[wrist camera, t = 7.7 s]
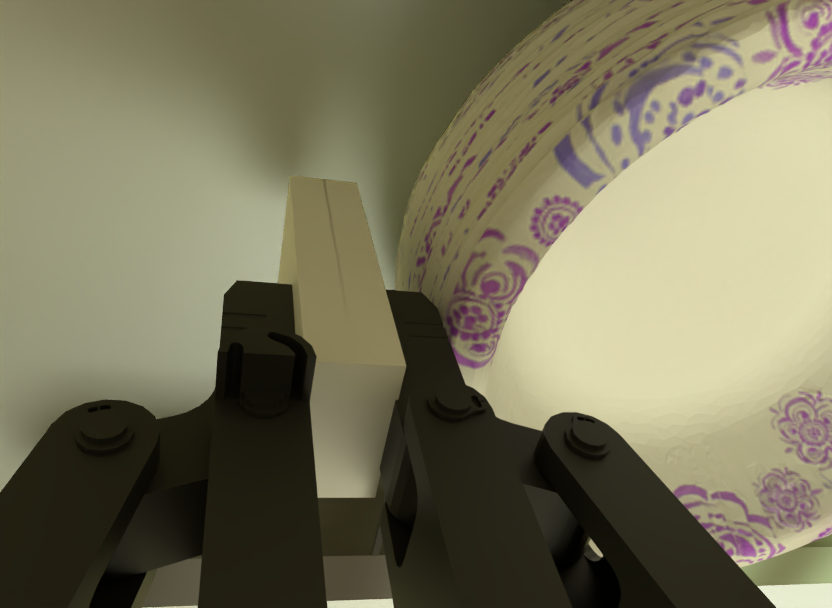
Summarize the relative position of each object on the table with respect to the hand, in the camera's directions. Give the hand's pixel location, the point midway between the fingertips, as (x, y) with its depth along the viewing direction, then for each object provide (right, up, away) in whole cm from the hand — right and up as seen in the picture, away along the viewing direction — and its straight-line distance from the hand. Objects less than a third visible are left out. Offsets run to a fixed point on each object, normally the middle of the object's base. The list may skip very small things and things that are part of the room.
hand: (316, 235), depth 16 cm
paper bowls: (+9, +1, +6) cm, 10 cm away
